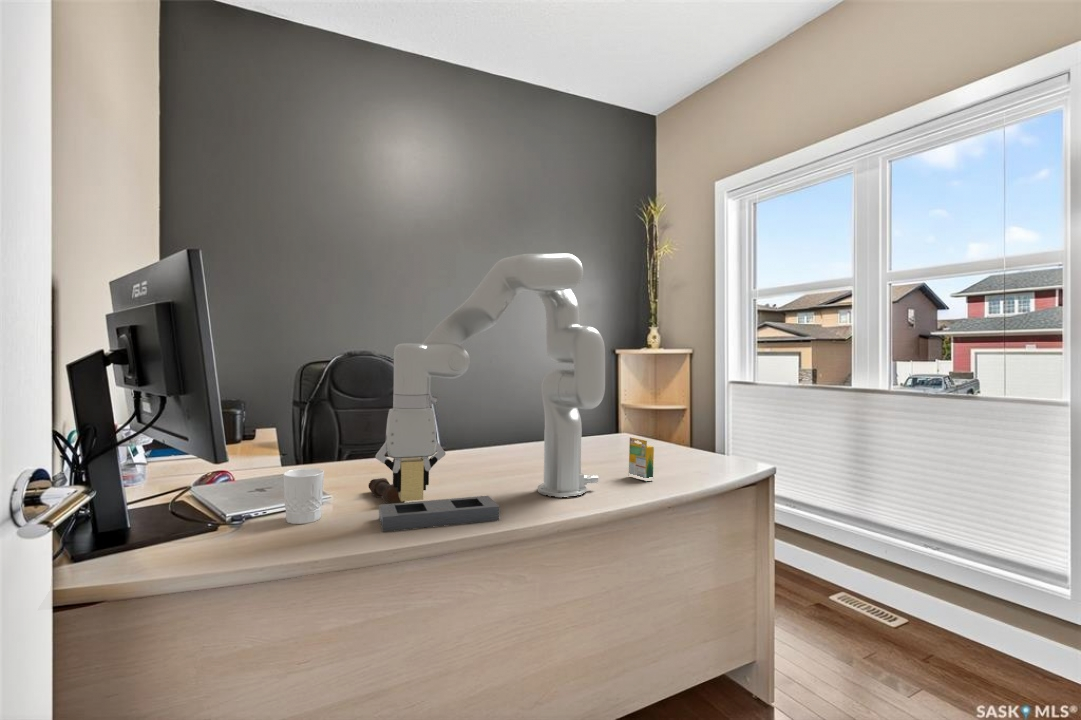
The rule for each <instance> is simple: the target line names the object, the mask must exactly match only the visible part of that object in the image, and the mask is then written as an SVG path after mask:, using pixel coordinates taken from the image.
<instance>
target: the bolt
mask: <svg viewBox="0 0 1081 720" xmlns="http://www.w3.org/2000/svg"><path fill="white" fill-rule="evenodd" d="M368 489H369V491H370V492H371V493H372V496H373V497H375V498H382V499H383V500H384V502H385V504H394V503H406V501H401V500H400V498H399V496H398V492H397V491H396V487H394V488H393V483H391V484H390V482H389V481H388V479H387V478H385V477H382V478H373V479H371V480H370V481H369V482H368Z"/></svg>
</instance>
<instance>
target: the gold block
mask: <svg viewBox="0 0 1081 720" xmlns="http://www.w3.org/2000/svg"><path fill="white" fill-rule="evenodd" d="M399 469H400V473H401V491H400V492H398V496H399V498H400V500H401V501H405V502H414V501H424V490H423V478H424V461H423V460H422V458H421V457H415V458H402V459H401V463H400V467H399Z"/></svg>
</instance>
